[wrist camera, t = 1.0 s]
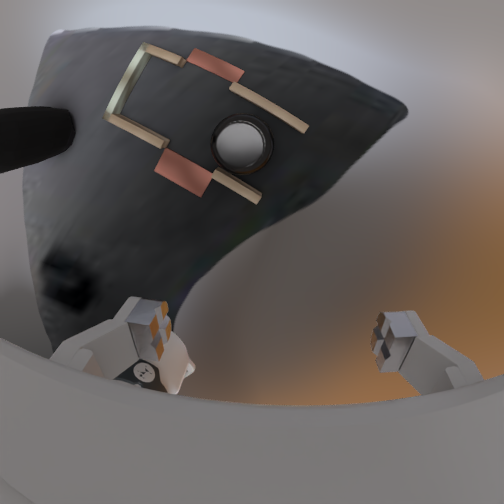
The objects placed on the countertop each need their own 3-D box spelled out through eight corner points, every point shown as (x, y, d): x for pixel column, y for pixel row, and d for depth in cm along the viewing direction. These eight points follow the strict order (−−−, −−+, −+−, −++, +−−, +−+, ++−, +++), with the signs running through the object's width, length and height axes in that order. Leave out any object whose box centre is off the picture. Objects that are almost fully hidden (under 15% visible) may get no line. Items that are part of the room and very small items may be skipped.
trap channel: (243, 221, 40) (241, 227, 38) (101, 140, 36) (92, 141, 33) (315, 113, 33) (318, 112, 31) (157, 34, 29) (151, 29, 27)
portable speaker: (68, 164, 37) (-20, 195, 19) (37, 143, 36) (-46, 166, 18) (86, 117, 34) (-8, 126, 16) (53, 99, 32) (-35, 105, 15)
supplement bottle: (240, 175, 38) (229, 194, 27) (211, 136, 35) (187, 139, 24) (282, 148, 36) (289, 154, 25) (253, 107, 34) (247, 96, 23)
